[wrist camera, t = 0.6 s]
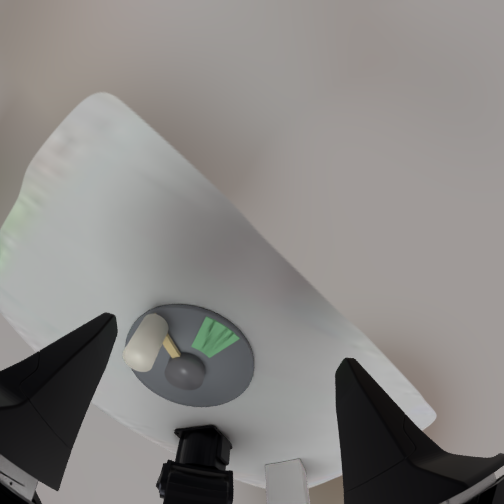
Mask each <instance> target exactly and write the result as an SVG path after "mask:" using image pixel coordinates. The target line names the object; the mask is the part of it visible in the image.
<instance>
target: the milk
mask: <svg viewBox="0 0 504 504" xmlns="http://www.w3.org/2000/svg"><path fill="white" fill-rule="evenodd" d="M265 471H266V493H267V504H310V498H309V491H308V484H307V477H306V471H305V469H304V467H303V465H302V463H301V461H300V459H295V460H290V461H285V462H280V463H274V464H268V465H265Z"/></svg>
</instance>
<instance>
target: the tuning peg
mask: <svg viewBox="0 0 504 504" xmlns="http://www.w3.org/2000/svg"><path fill="white" fill-rule="evenodd" d="M168 330H169V327H168V324H167V322H166V320H165V319H164V318H163V317H161V316H159V315H157V314H156V313H154V314H148V315H146V316H145V317H144V319H143V320H142V322H141V323H140V325H139V327H138V328H137V330H136V331H135V333H134V335H133V336H132V338H131V339H130V341H129V343H128V344H127V346H126V348H125V349H124V351H123V359H124V361H125V363H126V364H127V365H128V366H129V367H130V368H132V369H134V370H136V371H139V372H147V371H149V370H151V368H152V366H153V364H154V362H155V359H156V357H157V355H158V353H159V350H160V348H161V346H162V344H163V345H164V347H165V348H166V350H167V351H168V353H169V354H170V356H171V357H170V358H169V360H168V363H167V366H166V368H165V372H164V374H165V377H166V379H167V381H168V382H169V383H170V384H171V385H173V386H174V387H176V388H179V389H182V390H195V389H198V388H199V387H200V386H201V385H202V384H203V380H204V375H205V366H204V364H203V362H202V361H201V360H200V359H199V358H197V357H196V356H194V355H192V354H188V353H180V352H179V350H178V349H177V347H176V345H175V344H174V342H173V341H172V339H171V338H170V336H169V334H168Z"/></svg>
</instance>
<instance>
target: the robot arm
mask: <svg viewBox="0 0 504 504" xmlns="http://www.w3.org/2000/svg"><path fill="white" fill-rule="evenodd" d="M117 333H118V329H117V322H116V316H115V315H114V314H110V313H107V312H105V313H103V314H101V315H100V316H98V317H96V318H94V319H93V320H91V321H89V322H87V323H86V324H84V325H82V326H81V327H79V328H77V329H75V330H74V331H72V332H70V333H69V334H67V335H65V336H64V337H62V338H60V339H58V340H57V341H55V342H53V343H52V344H50V345H48V346H47V347H45V348H43V349H42V350H40V352H39V351H38V352H36V353H35V354H33V355H31V356H30V357H28V358H26V359H24V360H23V361H21V362H19V363H17V364H15V365H13V366H10V367H8V368H6V369H4V370H2V371H0V504H42V503H41V501H40V499H39V497H38V495H37V493H36V491H35V489H36V487H37V484H38V481H40V482H42V483H44V484H45V485H47V486H49V487H51V488H52V489H54V490H56V491H58V490H59V488H60V484H61V481H62V477H63V475H64V471H65V468H66V465H67V462H68V459H69V457H70V454H71V450H72V448H73V445H74V442H75V440H76V437H77V434H78V432H79V429H80V427H81V424H82V421H83V419H84V417H85V414H86V411H87V409H88V407H89V404H90V402H91V400H92V397H93V395H94V393H95V391H96V388H97V386H98V384H99V382H100V379H101V377H102V375H103V373H104V371H105V368H106V366H107V363H108V360H109V357H110V354H111V351H112V348H113V345H114V342H115V340H116V337H117ZM335 386H336V413H337V421H338V430H339V439H340V449H341V461H342V473H343V486H344V487H343V488H344V504H504V475H502V476H501V477H499V478H498V479H496V477H495V474H494V472H495V471H497V470H498V469H499V468H501V467H502V466H504V454H502V453H500V454H498V455H496V456H494V457H491V458H482V457H471V456H463V455H456V454H451V453H448V452H446V451H444V450H443V449H441V448H440V447H439V446H438V445H437V444H436V443H435V442H433V441H432V440H431V439H430V438H429V437H428V436H427V435H426V434H425V433H424V432H422V431H421V430H420V429H419V428H418V427H417V426H416V425H415V424H414V423H413V422H412V421H411V419H410V418H409V417H408V416H407V415H406V414H405V413H404V412H403V411H402V410H401V409H400V407H399V406H398V405H397V404H396V403H395V402H394V401H393V400H392V399H391V398H390V397H389V395H388V394H387V393H386V392H385V391H384V390H383V389H382V388H381V387H380V386H379V385H378V383H377V382H376V381H375V380H374V379H373V378H372V377H371V376H370V375H369V374H368V372H367V371H366V370H365V369H364V368H363V367H362V366H361V365H360V364H359V363H358V362H357V361H356V359H354V358H345V359H343V361H342V362H341V364H340V366H339V367H338V369H337V370H336V373H335ZM174 433H175V434H176V435H177V436H178V437H179V438H180V440H179V445H178V450H177V454H176V459H175V462H174V461H172V460H168V461H167V463H164V464H163V467H162V471H161V474H160V476H159V479H158V481H157V484H156V487H157V488H158V490H159V493H160V498H163V499H164V502H163V504H232V502H233V471H230V470H229V471H225V470H226V465H228V464H229V456H230V449H232V445H231V444H230V442H229V441H228V440H227V439H226V438H225V437H224V436H223V435H222V434H221V433H220V432H219V431H218V429H217V428H216V427H215V426H212V425H210V426H203V427H195V428H186V429H176V430H175V432H174Z"/></svg>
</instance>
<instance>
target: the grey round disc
mask: <svg viewBox="0 0 504 504" xmlns="http://www.w3.org/2000/svg"><path fill="white" fill-rule="evenodd" d="M154 313H156V314H157V315H159V316H161V317H163V318H164V319H165V320H166V322H167V324H168V327H169V330H168V334H169V336H170V338H171V339H172V341H173V342H174V344H175V345H176V347H177V349H178V350H179V352H180V353H188V354H192V355H194V356H196V357H197V358H199V359H200V360H201V361H202V362H203V364H204V366H205V375H204V380H203V384H202V385H201V386H200V387H199V388H198V389H195V390H182V389H179V388H176V387H174V386H173V385H171V384H170V383H169V382H168V381H167V379H166V377H165V374H164V372H165V368H166V366H167V363H168V360H169V358H170V357H171V356H170V354H169V353H168V351H167V350H166V348H165V347H164V345H163V344H162V346H161V348H160V350H159V353H158V355H157V357H156V359H155V362H154V364H153V366H152V368H151V370H149V371H147V372H139V371H136V370H134V369H132V368H131V369H132V371H133V372H134V374H135V375H136V376H137V378H138V379H139V380H140V381H141V382H142V383H143V384H144V385H145V386H146V387H147V388H149V389H150V390H151V391H153V392H154V393H156V394H157V395H159V396H161V397H163V398H165V399H167V400H169V401H172V402H175V403H178V404H182V405H186V406H193V407H211V406H217V405H221V404H224V403H227V402H229V401H231V400H233V399H235V398H237V397H238V396H240V395H241V394H242V393H243V392H244V391H245V390H246V388H247V387H248V386H249V384H250V382H251V380H252V377H253V371H254V361H253V353H252V350H251V347H250V345H249V343H248V341H247V339H246V338H245V336H244V335H243V334H242V333H241V331H240V330H239V329H238V328H237V327H235V326H234V325H233V324H232V323H231V322H229V321H228V320H227V319H225V318H223V317H222V316H220V315H218V314H216V313H214V312H212V311H209V310H206V309H203V308H201V307H196V306H192V305H183V304H171V305H164V306H160V307H156V308H154V309H151V310H149V311H147V312H146V313H144V314H143V315H141V316H140V317H139V318H138V319H137V320H136V322H135V323H134V324H133V326H132V327H131V329H130V331H129V333H128V335H127V338H126V345H125V348H126V346H127V344H128V343H129V341H130V339H131V338H132V336H133V335H134V333H135V331H136V330H137V328H138V327H139V325H140V323H141V322H142V320H143V319H144V317H145V316H146V315H148V314H154Z"/></svg>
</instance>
